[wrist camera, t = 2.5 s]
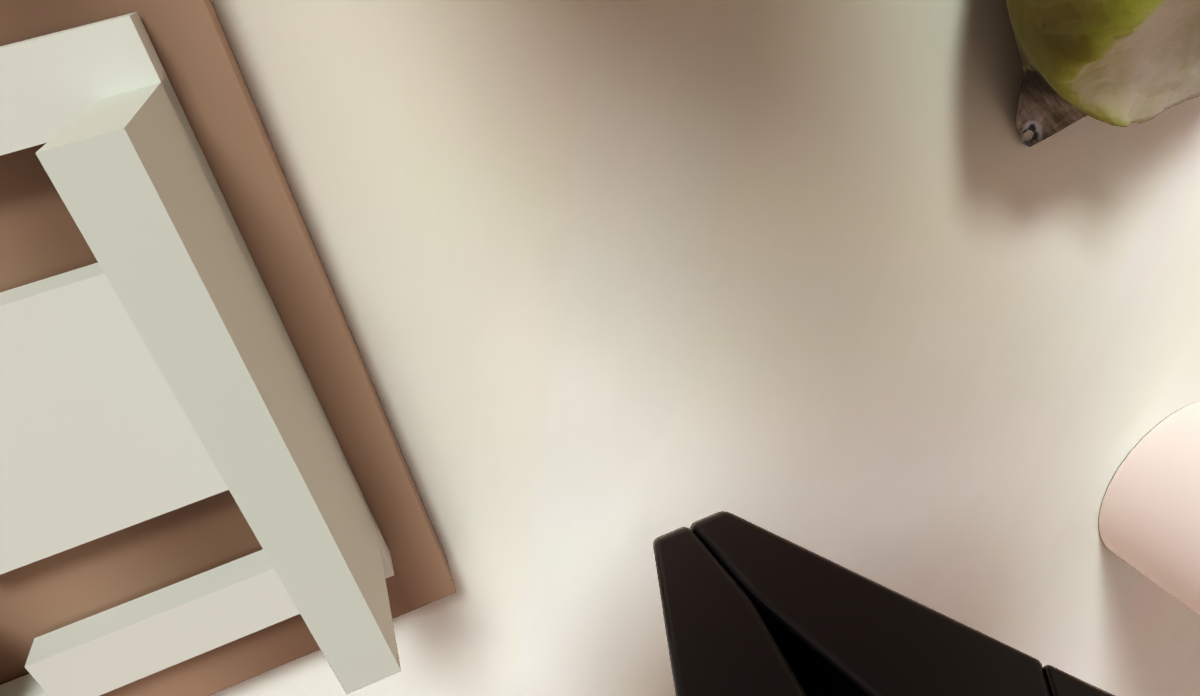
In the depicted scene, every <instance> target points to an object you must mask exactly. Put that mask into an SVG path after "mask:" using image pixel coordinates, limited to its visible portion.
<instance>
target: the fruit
mask: <svg viewBox="0 0 1200 696" xmlns="http://www.w3.org/2000/svg"><path fill="white" fill-rule="evenodd" d="M1006 4H1007V8H1008V13H1009V18H1010V21H1011V25H1012V28H1013V32H1014V35H1015V39H1016V43H1017V46H1018V50H1019V54H1020V58H1021V62H1022V66H1023V71H1024V77H1023V82H1022V87H1021V92H1020V97H1019V103H1018V109H1017V115H1016V127H1017V130H1018V132H1019V134H1020V136H1021V139H1022V142H1023V144H1024V145H1026V146H1029V147H1030V146H1032V145H1034V144H1036V143H1038V142H1040V141H1042V140H1044V139H1046V138H1047V137H1049V136H1051V135H1053V134H1055V133H1057V132H1058V131H1060V130H1062V129H1064V128H1065V127H1067V126H1069V125H1070V124H1072V123H1074V122H1076V121H1077V120H1079V119H1081V118H1083V117H1084V116H1086V115H1089V116H1091V117H1093V118H1095V119H1097V120H1100V121H1103V122H1106V123H1108V124H1111V125H1114V126H1121V127H1127V126H1128V125H1129V124H1130V123H1142V122H1145V121H1147V120H1150V119H1152V118H1154V117H1155V116H1157V115H1158V114H1159V113H1161V112H1162V111H1164V110H1166V109H1167V108H1170V107H1172V106H1174V105H1176V104H1179V103H1181V102H1183V101H1186V100H1189V99H1191V98H1194V97H1197V96H1200V0H1006ZM1028 129H1029V130H1032V131H1033V132H1035V133H1034V135H1033V137H1032V139H1031V140H1029V141H1025V139H1024V135H1023V133H1025V132H1026V131H1027V130H1028Z"/></svg>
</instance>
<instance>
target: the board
mask: <svg viewBox="0 0 1200 696" xmlns="http://www.w3.org/2000/svg"><path fill="white" fill-rule="evenodd" d="M134 12H137V13H138V15H139V17H140V19H141V21H142V23H143V25H144V28H145V30H146V32H147V34H148V36H149V38H150V40H151V42H152V45H153V47H154V49H155V51H156V53H157V55H158V57H159V60H160V62H161V64H162V66H163V68H164V70H165V72H166V75H167V77H168V79H169V81H170V83H171V85H172V87H173V90H174V92H175V94H176V96H177V98H178V100H179V102H180V104H181V107H182V109H183V111H184V113H185V115H186V117H187V119H188V122H189V124H190V126H191V128H192V130H193V132H194V134H195V137H196V139H197V141H198V143H199V145H200V147H201V149H202V152H203V154H204V156H205V158H206V160H207V162H208V164H209V166H210V169H211V171H212V173H213V175H214V177H215V179H216V181H217V184H218V186H219V188H220V190H221V192H222V194H223V196H224V199H225V201H226V203H227V205H228V207H229V209H230V211H231V214H232V216H233V218H234V220H235V222H236V224H237V226H238V228H239V231H240V233H241V235H242V237H243V239H244V241H245V243H246V246H247V248H248V250H249V252H250V254H251V256H252V258H253V261H254V263H255V265H256V267H257V269H258V271H259V273H260V276H261V278H262V280H263V282H264V284H265V286H266V288H267V290H268V293H269V295H270V297H271V299H272V301H273V303H274V305H275V308H276V310H277V312H278V314H279V316H280V318H281V320H282V323H283V325H284V327H285V329H286V331H287V333H288V335H289V338H290V340H291V342H292V344H293V346H294V348H295V350H296V352H297V355H298V357H299V359H300V361H301V363H302V365H303V367H304V370H305V372H306V374H307V376H308V378H309V380H310V382H311V385H312V387H313V389H314V391H315V393H316V395H317V397H318V400H319V402H320V404H321V406H322V408H323V410H324V412H325V414H326V417H327V419H328V421H329V423H330V425H331V427H332V429H333V432H334V434H335V436H336V438H337V440H338V442H339V444H340V447H341V449H342V451H343V453H344V455H345V457H346V459H347V462H348V464H349V466H350V468H351V470H352V472H353V474H354V476H355V479H356V481H357V483H358V485H359V487H360V489H361V491H362V494H363V496H364V498H365V500H366V502H367V504H368V506H369V509H370V511H371V513H372V515H373V517H374V519H375V521H376V524H377V526H378V528H379V530H380V532H381V534H382V536H383V538H384V541H385V543H386V545H387V547H388V549H389V551H390V555H391V560H392V565H393V571H394V576H391V577H389V578H386V579H385V580H386V586H387V592H388V598H389V603H390V609H391V615H392V619H393V618H395V617H398V616H400V615H402V614H405V613H407V612H410V611H412V610H414V609H417V608H419V607H421V606H424V605H426V604H429V603H431V602H433V601H436V600H438V599H441V598H443V597H445V596H448V595H450V594H453V593H455V592H456V591H455V587H454V584H453V580H452V577H451V573H450V569H449V566H448V562H447V559H446V557H445V555H444V552H443V550H442V548H441V545H440V543H439V540H438V538H437V536H436V533H435V531H434V529H433V526H432V524H431V521H430V519H429V517H428V514H427V512H426V510H425V507H424V505H423V503H422V500H421V498H420V495H419V493H418V491H417V488H416V486H415V484H414V481H413V479H412V476H411V474H410V472H409V469H408V467H407V465H406V462H405V460H404V458H403V455H402V453H401V450H400V448H399V446H398V443H397V441H396V439H395V436H394V434H393V431H392V429H391V427H390V424H389V422H388V420H387V417H386V415H385V412H384V410H383V408H382V405H381V403H380V401H379V398H378V396H377V394H376V391H375V389H374V386H373V384H372V382H371V379H370V377H369V375H368V372H367V370H366V367H365V365H364V363H363V360H362V358H361V356H360V353H359V351H358V348H357V346H356V344H355V341H354V339H353V337H352V334H351V332H350V330H349V327H348V325H347V322H346V320H345V318H344V315H343V313H342V311H341V308H340V306H339V303H338V301H337V299H336V296H335V294H334V292H333V289H332V287H331V285H330V282H329V280H328V277H327V275H326V273H325V270H324V268H323V266H322V263H321V261H320V258H319V256H318V254H317V251H316V249H315V247H314V244H313V242H312V239H311V237H310V235H309V232H308V230H307V228H306V225H305V223H304V221H303V218H302V216H301V213H300V211H299V209H298V206H297V204H296V202H295V199H294V197H293V194H292V192H291V190H290V187H289V185H288V183H287V180H286V178H285V175H284V173H283V171H282V168H281V166H280V164H279V161H278V159H277V157H276V154H275V152H274V149H273V147H272V145H271V142H270V140H269V138H268V135H267V133H266V130H265V128H264V126H263V123H262V121H261V119H260V116H259V114H258V112H257V109H256V107H255V104H254V102H253V100H252V97H251V95H250V93H249V90H248V88H247V85H246V83H245V81H244V78H243V76H242V74H241V71H240V69H239V66H238V64H237V62H236V59H235V57H234V55H233V52H232V50H231V48H230V45H229V43H228V40H227V38H226V36H225V33H224V31H223V29H222V26H221V24H220V21H219V19H218V17H217V14H216V12H215V10H214V7H213V5H212V3H211V0H0V46H4V45H8V44H12V43H16V42H20V41H24V40H28V39H32V38H35V37H39V36H43V35H47V34H51V33H55V32H59V31H63V30H67V29H71V28H75V27H79V26H83V25H87V24H91V23H95V22H98V21H102V20H106V19H110V18H114V17H118V16H122V15H126V14H130V13H134ZM45 144H46V143H44V144H40V145H37V146H33V147H29V148H26V149H22V150H19V151H15V152H11V153H8V154H4V155H1V156H0V292H4V291H7V290H10V289H13V288H17V287H20V286H23V285H26V284H30V283H33V282H36V281H39V280H43V279H46V278H49V277H52V276H55V275H59V274H62V273H65V272H68V271H72V270H75V269H78V268H81V267H85V266H88V265H91V264H94V263H98V261H97V260H96V258H95V256H94V254H93V253H92V251H91V249H90V247H89V246H88V244H87V242H86V240H85V239H84V237H83V235H82V233H81V232H80V230H79V228H78V226H77V225H76V223H75V221H74V219H73V218H72V216H71V214H70V213H69V211H68V209H67V207H66V206H65V204H64V202H63V200H62V199H61V197H60V195H59V193H58V192H57V190H56V188H55V186H54V185H53V183H52V181H51V179H50V178H49V176H48V174H47V173H46V171H45V169H44V167H43V166H42V164H41V162H40V160H39V159H38V157H37V155H36V152H37V151H38V150H39V149H40V148H41V147H43V146H44V145H45ZM262 549H263V548H262V547H261V545H260V543H259V541H258V540H257V538H256V536H255V534H254V533H253V531H252V529H251V527H250V526H249V524H248V522H247V520H246V519H245V517H244V515H243V514H242V512H241V510H240V508H239V507H238V505H237V503H236V501H235V500H234V498H233V496H232V494H231V493H230V491H229V490H227V491H224V492H221V493H218V494H216V495H213V496H210V497H208V498H205V499H202V500H200V501H197V502H194V503H192V504H189V505H186V506H184V507H181V508H178V509H176V510H173V511H170V512H167V513H165V514H162V515H159V516H157V517H154V518H151V519H149V520H146V521H143V522H141V523H138V524H135V525H133V526H130V527H127V528H124V529H122V530H119V531H116V532H114V533H111V534H108V535H106V536H103V537H100V538H98V539H95V540H92V541H90V542H87V543H84V544H81V545H79V546H76V547H73V548H71V549H68V550H65V551H63V552H60V553H57V554H55V555H52V556H49V557H47V558H44V559H41V560H38V561H36V562H33V563H30V564H28V565H25V566H22V567H20V568H17V569H14V570H12V571H9V572H6V573H4V574H1V575H0V685H2V684H4V683H7V682H9V681H12V680H14V679H17V678H20V677H22V676H25V675H27V674H30V673H29V672H28V671H27V670H26V668H25V664H26V661H27V658H28V655H29V653H30V650H31V647H32V644H33V641H34V638H36V637H39V636H41V635H44V634H47V633H49V632H52V631H54V630H57V629H59V628H62V627H65V626H67V625H70V624H72V623H75V622H77V621H80V620H82V619H85V618H88V617H90V616H93V615H95V614H98V613H100V612H103V611H106V610H108V609H111V608H113V607H116V606H118V605H121V604H124V603H126V602H129V601H131V600H134V599H136V598H139V597H142V596H144V595H147V594H149V593H152V592H154V591H157V590H160V589H162V588H165V587H167V586H170V585H172V584H175V583H178V582H180V581H183V580H185V579H188V578H190V577H193V576H195V575H198V574H201V573H203V572H206V571H208V570H211V569H213V568H216V567H219V566H221V565H224V564H226V563H229V562H231V561H234V560H237V559H239V558H242V557H244V556H247V555H249V554H252V553H255V552H257V551H260V550H262ZM319 649H320V647H319V646H318V644H317V642H316V641H315V639H314V637H313V635H312V634H311V632H310V630H309V628H308V627H307V625H306V623H305V621H304V620H303V618H302V616H301V614H298V615H296V616H293V617H291V618H288V619H286V620H283V621H281V622H279V623H276V624H274V625H271V626H269V627H266V628H264V629H261V630H259V631H257V632H254V633H252V634H249V635H247V636H244V637H242V638H239V639H237V640H234V641H232V642H230V643H227V644H225V645H222V646H220V647H217V648H215V649H212V650H210V651H208V652H205V653H203V654H200V655H198V656H195V657H193V658H190V659H188V660H186V661H183V662H181V663H178V664H176V665H173V666H171V667H168V668H166V669H163V670H161V671H159V672H156V673H154V674H151V675H149V676H146V677H144V678H141V679H139V680H137V681H134V682H132V683H129V684H127V685H124V686H122V687H119V688H117V689H115V690H112V691H110V692H107V693H105V694H102V695H100V696H209V695H211V694H214V693H216V692H219V691H221V690H223V689H226V688H228V687H230V686H233V685H235V684H238V683H240V682H242V681H245V680H247V679H250V678H252V677H254V676H257V675H259V674H261V673H264V672H266V671H269V670H271V669H273V668H276V667H278V666H281V665H283V664H285V663H288V662H290V661H293V660H295V659H297V658H300V657H302V656H304V655H307V654H309V653H312V652H314V651H316V650H319Z"/></svg>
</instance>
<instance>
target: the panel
mask: <svg viewBox="0 0 1200 696" xmlns="http://www.w3.org/2000/svg"><path fill="white" fill-rule="evenodd" d="M44 143H46V144H45V145H44V146H43V147H41V148H40V149H39V150H38V151H37V152H36V155H37V157H38V159H39V160H40V162H41V164H42V166H43V167H44V169H45V171H46V173H47V174H48V176H49V178H50V179H51V181H52V183H53V185H54V186H55V188H56V190H57V192H58V193H59V195H60V197H61V199H62V200H63V202H64V204H65V206H66V207H67V209H68V211H69V213H70V214H71V216H72V218H73V219H74V221H75V223H76V225H77V226H78V228H79V230H80V232H81V233H82V235H83V237H84V239H85V240H86V242H87V244H88V246H89V247H90V249H91V251H92V253H93V254H94V256H95V258H96V260H97V261H98V263H94V264H91V265H88V266H85V267H81V268H78V269H75V270H72V271H68V272H65V273H62V274H59V275H55V276H52V277H49V278H46V279H43V280H39V281H36V282H33V283H30V284H26V285H23V286H20V287H17V288H13V289H10V290H7V291H4V292H0V575H1V574H4V573H6V572H9V571H12V570H14V569H17V568H20V567H22V566H25V565H28V564H30V563H33V562H36V561H38V560H41V559H44V558H47V557H49V556H52V555H55V554H57V553H60V552H63V551H65V550H68V549H71V548H73V547H76V546H79V545H81V544H84V543H87V542H90V541H92V540H95V539H98V538H100V537H103V536H106V535H108V534H111V533H114V532H116V531H119V530H122V529H124V528H127V527H130V526H133V525H135V524H138V523H141V522H143V521H146V520H149V519H151V518H154V517H157V516H159V515H162V514H165V513H167V512H170V511H173V510H176V509H178V508H181V507H184V506H186V505H189V504H192V503H194V502H197V501H200V500H202V499H205V498H208V497H210V496H213V495H216V494H218V493H221V492H224V491H227V490H229V491H230V493H231V494H232V496H233V498H234V500H235V501H236V503H237V505H238V507H239V508H240V510H241V512H242V514H243V515H244V517H245V519H246V520H247V522H248V524H249V526H250V527H251V529H252V531H253V533H254V534H255V536H256V538H257V540H258V541H259V543H260V545H261V547H262V548H263V549H262V550H260V551H257V552H255V553H252V554H249V555H247V556H244V557H242V558H239V559H237V560H234V561H231V562H229V563H226V564H224V565H221V566H219V567H216V568H213V569H211V570H208V571H206V572H203V573H201V574H198V575H195V576H193V577H190V578H188V579H185V580H183V581H180V582H178V583H175V584H172V585H170V586H167V587H165V588H162V589H160V590H157V591H154V592H152V593H149V594H147V595H144V596H142V597H139V598H136V599H134V600H131V601H129V602H126V603H124V604H121V605H118V606H116V607H113V608H111V609H108V610H106V611H103V612H100V613H98V614H95V615H93V616H90V617H88V618H85V619H82V620H80V621H77V622H75V623H72V624H70V625H67V626H65V627H62V628H59V629H57V630H54V631H52V632H49V633H47V634H44V635H41V636H39V637H36V638H34V641H33V644H32V647H31V650H30V653H29V655H28V658H27V661H26V664H25V668H26V670H27V671H28V672H29V673H30V674H27V675H25V676H22V677H20V678H17V679H14V680H12V681H9V682H7V683H4V684H2V685H0V696H100V695H102V694H105V693H107V692H110V691H112V690H115V689H117V688H119V687H122V686H124V685H127V684H129V683H132V682H134V681H137V680H139V679H141V678H144V677H146V676H149V675H151V674H154V673H156V672H159V671H161V670H163V669H166V668H168V667H171V666H173V665H176V664H178V663H181V662H183V661H186V660H188V659H190V658H193V657H195V656H198V655H200V654H203V653H205V652H208V651H210V650H212V649H215V648H217V647H220V646H222V645H225V644H227V643H230V642H232V641H234V640H237V639H239V638H242V637H244V636H247V635H249V634H252V633H254V632H257V631H259V630H261V629H264V628H266V627H269V626H271V625H274V624H276V623H279V622H281V621H283V620H286V619H288V618H291V617H293V616H296V615H298V614H301V616H302V618H303V620H304V621H305V623H306V625H307V627H308V628H309V630H310V632H311V634H312V635H313V637H314V639H315V641H316V642H317V644H318V646H319V647H320V649H321V651H322V653H323V654H324V656H325V658H326V660H327V661H328V663H329V665H330V667H331V668H332V670H333V672H334V674H335V675H336V677H337V679H338V681H339V682H340V684H341V686H342V688H343V689H344V691H345V693H346V694H349V693H351V692H354V691H356V690H358V689H361V688H363V687H365V686H368V685H370V684H372V683H374V682H377V681H379V680H381V679H384V678H386V677H388V676H391V675H393V674H395V673H398V672H400V671H401V667H400V662H399V656H398V650H397V644H396V638H395V633H394V627H393V621H392V615H391V609H390V603H389V598H388V592H387V586H386V580H385V579H386V578H389V577H391V576H394V571H393V565H392V560H391V555H390V551H389V549H388V547H387V545H386V543H385V541H384V538H383V536H382V534H381V532H380V530H379V528H378V526H377V524H376V521H375V519H374V517H373V515H372V513H371V511H370V509H369V506H368V504H367V502H366V500H365V498H364V496H363V494H362V491H361V489H360V487H359V485H358V483H357V481H356V479H355V476H354V474H353V472H352V470H351V468H350V466H349V464H348V462H347V459H346V457H345V455H344V453H343V451H342V449H341V447H340V444H339V442H338V440H337V438H336V436H335V434H334V432H333V429H332V427H331V425H330V423H329V421H328V419H327V417H326V414H325V412H324V410H323V408H322V406H321V404H320V402H319V400H318V397H317V395H316V393H315V391H314V389H313V387H312V385H311V382H310V380H309V378H308V376H307V374H306V372H305V370H304V367H303V365H302V363H301V361H300V359H299V357H298V355H297V352H296V350H295V348H294V346H293V344H292V342H291V340H290V338H289V335H288V333H287V331H286V329H285V327H284V325H283V323H282V320H281V318H280V316H279V314H278V312H277V310H276V308H275V305H274V303H273V301H272V299H271V297H270V295H269V293H268V290H267V288H266V286H265V284H264V282H263V280H262V278H261V276H260V273H259V271H258V269H257V267H256V265H255V263H254V261H253V258H252V256H251V254H250V252H249V250H248V248H247V246H246V243H245V241H244V239H243V237H242V235H241V233H240V231H239V228H238V226H237V224H236V222H235V220H234V218H233V216H232V214H231V211H230V209H229V207H228V205H227V203H226V201H225V199H224V196H223V194H222V192H221V190H220V188H219V186H218V184H217V181H216V179H215V177H214V175H213V173H212V171H211V169H210V166H209V164H208V162H207V160H206V158H205V156H204V154H203V152H202V149H201V147H200V145H199V143H198V141H197V139H196V137H195V134H194V132H193V130H192V128H191V126H190V124H189V122H188V119H187V117H186V115H185V113H184V111H183V109H182V107H181V104H180V102H179V100H178V98H177V96H176V94H175V92H174V90H173V87H172V85H171V83H170V81H169V79H168V77H167V75H166V72H165V70H164V68H163V66H162V64H161V62H160V60H159V57H158V55H157V53H156V51H155V49H154V47H153V45H152V42H151V40H150V38H149V36H148V34H147V32H146V30H145V28H144V25H143V23H142V21H141V19H140V17H139V15H138V13H137V12H134V13H130V14H126V15H122V16H118V17H114V18H110V19H106V20H102V21H98V22H95V23H91V24H87V25H83V26H79V27H75V28H71V29H67V30H63V31H59V32H55V33H51V34H47V35H43V36H39V37H35V38H32V39H28V40H24V41H20V42H16V43H12V44H8V45H4V46H0V156H1V155H4V154H8V153H11V152H15V151H19V150H22V149H26V148H29V147H33V146H37V145H40V144H44Z"/></svg>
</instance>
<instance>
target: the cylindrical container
mask: <svg viewBox="0 0 1200 696" xmlns="http://www.w3.org/2000/svg"><path fill="white" fill-rule="evenodd" d="M1099 531H1100V536H1101V539H1102V541H1103V543H1104V544H1105V546H1106V547H1107V548H1108V549H1109V550H1111V551H1112V552H1113V553H1114V554H1116V555H1117V556H1119V557H1120V558H1121V559H1123V560H1124V561H1125V562H1127V563H1128V564H1129V565H1131V566H1132V567H1134V568H1135V569H1136V570H1138V571H1139V572H1140V573H1142V574H1143V575H1144V576H1146V577H1147V578H1149V579H1150V580H1151V581H1153V582H1154V583H1155V584H1157V585H1158V586H1159V587H1161V588H1162V589H1163V590H1165V591H1166V592H1168V593H1169V594H1170V595H1172V596H1173V597H1174V598H1176V599H1177V600H1178V601H1180V602H1181V603H1183V604H1184V605H1185V606H1187V607H1188V608H1189V609H1191V610H1192V611H1193V612H1195V613H1196V614H1198V615H1199V616H1200V401H1198V402H1196V403H1193V404H1190V405H1188V406H1186V407H1184V408H1182V409H1180V410H1178V411H1177V412H1175V413H1173V414H1172V415H1170V416H1169V417H1167V418H1166V419H1165V420H1163V421H1162V422H1160V423H1159V424H1158V425H1157V426H1156V427H1155V428H1153V429H1152V430H1151V431H1150V432H1149V433H1148V434H1147V435H1146V436H1144V438H1143V439H1142V440H1141V441H1140V442H1139V443H1138V444H1137V445H1136V446H1135V447H1134V449H1133V450H1132V451H1131V452H1130V453H1129V455H1128V456H1127V457H1126V459H1125V460H1124V461H1123V463H1122V464H1121V466H1120V467H1119V468H1118V470H1117V472H1116V474H1115V475H1114V477H1113V479H1112V481H1111V483H1110V484H1109V486H1108V489H1107V491H1106V494H1105V497H1104V499H1103V502H1102V506H1101V510H1100V515H1099Z"/></svg>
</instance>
